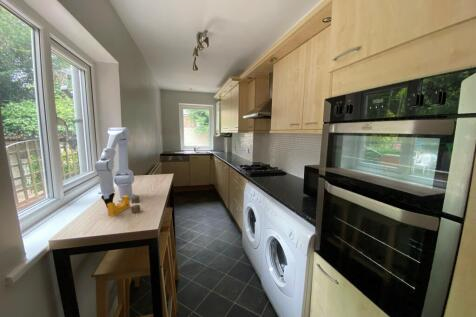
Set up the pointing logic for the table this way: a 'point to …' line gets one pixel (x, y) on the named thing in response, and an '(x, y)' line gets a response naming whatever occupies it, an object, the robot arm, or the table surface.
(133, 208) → the post
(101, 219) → the table surface
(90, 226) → the table surface
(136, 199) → the post
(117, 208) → the pipe clamp
